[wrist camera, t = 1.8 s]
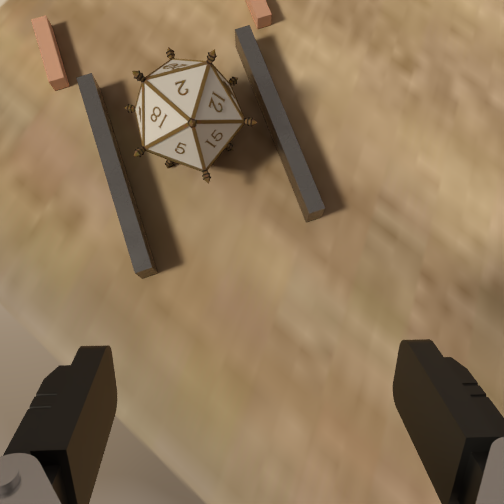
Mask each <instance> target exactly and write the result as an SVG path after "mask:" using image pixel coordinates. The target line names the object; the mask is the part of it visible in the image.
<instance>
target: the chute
mask: <svg viewBox="0 0 504 504" xmlns="http://www.w3.org/2000/svg"><path fill="white" fill-rule="evenodd" d="M235 41H236V49H237V51H238V54H239V56H240V58H241V61H242V63H243V66H244V68H245V71H246V73H247V76H248V78H249V81H250V83H251V86H252V88H253V91H254V93H255V96H256V98H257V101H258V103H259V106H260V108H261V111H262V113H263V116H264V118H265V121H266V123H267V126H268V128H269V131H270V133H271V136H272V138H273V141H274V143H275V146H276V148H277V151H278V153H279V156H280V158H281V161H282V163H283V166H284V168H285V171H286V173H287V176H288V178H289V181H290V183H291V186H292V188H293V191H294V193H295V196H296V198H297V201H298V203H299V206H300V208H301V211H302V213H303V216H304V218H305V221H306V222H308V221H311V220H314V219H317V218H320V217H321V216H322V214H323V212H324V210H325V206H324V204H323V202H322V199H321V197H320V194H319V192H318V190H317V187H316V185H315V182H314V180H313V177H312V175H311V173H310V170H309V168H308V165H307V163H306V161H305V158H304V156H303V153H302V151H301V148H300V146H299V144H298V141H297V139H296V136H295V134H294V132H293V129H292V127H291V124H290V122H289V120H288V117H287V115H286V112H285V110H284V107H283V105H282V103H281V100H280V98H279V95H278V93H277V91H276V88H275V86H274V83H273V81H272V78H271V76H270V74H269V71H268V69H267V66H266V64H265V62H264V59H263V57H262V54H261V52H260V49H259V47H258V45H257V42H256V40H255V37H254V35H253V33H252V30H251V28H250V25H248V26H245V27H242V28H238V29H235ZM77 82H78V85H79V88H80V92H81V95H82V98H83V102H84V105H85V108H86V112H87V115H88V118H89V122H90V125H91V128H92V132H93V135H94V138H95V142H96V145H97V148H98V151H99V155H100V158H101V161H102V165H103V168H104V171H105V175H106V178H107V181H108V185H109V188H110V191H111V195H112V198H113V201H114V205H115V208H116V211H117V215H118V218H119V221H120V225H121V228H122V231H123V235H124V238H125V241H126V245H127V248H128V251H129V255H130V258H131V261H132V265H133V268H134V271H135V274H137V275H138V276H139V277H140V278H145V277H148V276H151V275H154V274H157V273H158V272H157V269H156V266H155V263H154V259H153V256H152V253H151V250H150V247H149V243H148V240H147V237H146V234H145V231H144V227H143V224H142V221H141V218H140V215H139V211H138V208H137V205H136V202H135V199H134V195H133V192H132V189H131V186H130V182H129V179H128V176H127V173H126V170H125V166H124V163H123V160H122V157H121V154H120V150H119V147H118V144H117V141H116V138H115V134H114V131H113V128H112V125H111V122H110V118H109V115H108V112H107V109H106V106H105V102H104V99H103V96H102V93H101V90H100V87H99V85H98V84H97V82H96V80H95V78H94V76H93V74H92V73H90V74H87V75H84V76H80V77H77Z"/></svg>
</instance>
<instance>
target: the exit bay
mask: <svg viewBox="0 0 504 504" xmlns="http://www.w3.org/2000/svg"><path fill="white" fill-rule="evenodd" d="M246 3H247V5H248V8H249V10H250V12H251V15H252V17H253V19H254V22H255V24H256V27H257V29H259V28H262V27H266V26H269V25H271V17H272V14H271V12H270V9H269V7H268V5H267V2H266V0H246ZM31 21H32V25H33V28H34V32H35V35H36V39H37V42H38V46H39V49H40V53H41V56H42V60H43V63H44V67H45V71H46V74H47V78H48V81H49V83H50V84H51V86H52V87H53V89H54V90H55V91H56V90H59V89H62V88H66V87H69V82H68V79H67V75H66V72H65V69H64V65H63V62H62V58H61V55H60V52H59V48H58V45H57V42H56V38H55V35H54V31H53V28H52V25H51V24H50V22H49V20H48V19H47V17H46V16H42V17H39V18H35V19H32V20H31Z"/></svg>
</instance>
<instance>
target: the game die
mask: <svg viewBox="0 0 504 504" xmlns="http://www.w3.org/2000/svg"><path fill="white" fill-rule="evenodd" d="M166 54H167V55H168V56H167V57H168V58H169V59H170V60H169V61H168V62H166V63H165V64H163V65H162V66H160V67H159V68H158V69H156V70H155V71H153V72H152V73H150V74H149V75H148V76H146V77H144V76H143V73H140V71H132V72H133V75H134V78H135V79H137V80H138V81H141V82H142V83H141V87H140V91H139V94H138V98H137V102H136V105H135V107H134V106H133V105H129V104H128V105H127V106H126V107H125V109H126V110H127V111H128V113H129V112H131V113H132V112H134V111H135V114H136V119H137V123H138V128H139V133H140V138H141V143H142V147H141V148H138V149H137V150H136V149H135V153H134V157H138V156H139V157H141V155H143V154H144V152H145V151H147V152H150V153H152V154H155V155H157V156H160V157H163V158H165V159H168V160H167V161H166V163H165V165H166V166H167V168H169V167H172V164H173V162H176V163H179V164H182V165H185V166H188V167H190V168H193V169H196V170H199V171H202V172H203V175H202V177H203V178H204V179H203V180H205V181H206V182H207V183H208V184H209V181H210V178H211V177H210V174H209V173H208V169H209V168H210V166H211V165H212V164H213V163H214V161H215V160H216V159H217V158H218V156H219V155H220V154H221V153H222V151H223V150H224V149H225V148H226V149H228V151H230V150H233V145H231V143H230V141H231V140H232V139H233V138H234V136H235V135H236V134H237V133H238V131H239V130H240V129H241V128H242V126H243V125H244V124H247V125H248V126H249V125H251V126H253V125H254V124H256V123H257V122H256V121H255V120H254V119H253V118H247V119H245V118H244V115H243V113H242V111H241V108H240V106H239V103H238V101H237V99H236V96H235V94H234V92H233V89H232V87H231V86H232V85H235V84H237V79H238V78H236V77H232V78H230V80H229V82H228V81H227V80H226V79H225V77H224V76H223V75H222V74H221V73H220V72H219V71H218V70H217V69H216V67H215V66H214V65H213V64H212V62H213V61H214V60H215V58H216V57H217V56H216V54H215V49H214V50H213V51H211V52H208V56H207V61H198V60H185V59H175V58H174V56H175V54H174V51H173V50H171V49H170V48H169V47H168V50H167V52H166Z"/></svg>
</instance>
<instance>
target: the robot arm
mask: <svg viewBox="0 0 504 504" xmlns="http://www.w3.org/2000/svg"><path fill="white" fill-rule="evenodd" d="M393 397H394V402H395V405H396V408H397V410H398V412H399V414H400V416H401V418H402V421H403V423H404V425H405V427H406V429H407V431H408V433H409V435H410V438H411V440H412V442H413V444H414V446H415V448H416V450H417V452H418V454H419V457H420V459H421V461H422V463H423V465H424V467H425V469H426V471H427V474H428V476H429V478H430V480H431V482H432V484H433V486H434V488H435V491H436V493H437V495H438V497H439V499H440V501H441V503H442V504H504V418H503V416H502V415H501V414H500V412H499V411H498V410H497V408H496V407H495V406H494V404H493V403H492V402H491V400H490V399H489V397H486V393H485V392H484V391H483V389H482V388H481V387H480V386H478V383H477V381H476V380H475V379H474V377H473V376H472V375H471V373H470V372H469V371H468V369H467V368H465V367H464V366H462V365H461V364H460V363H458V362H457V361H456V360H454V359H453V358H451V357H443V355H442V354H441V353H440V351H439V350H438V348H437V347H436V345H435V344H434V343H433V341H431V340H430V339H427V340H402V341H401V343H400V346H399V352H398V358H397V363H396V369H395V375H394V381H393ZM116 407H117V387H116V380H115V372H114V365H113V358H112V351H111V348H110V346H81V347H80V348H79V349H78V351H77V353H76V356H75V358H74V360H73V362H72V364H71V365H67V366H59V367H57V368H56V369H55V370H54V371H53V372H52V373H50V374H49V375H48V376H47V377H46V378H45V379H44V380H43V382H42V384H41V386H40V388H39V390H38V392H37V394H36V397H34V399H33V401H32V403H31V405H30V409H28V410H27V412H26V414H25V416H24V418H23V419H22V421H21V423H20V425H19V427H18V429H17V431H16V433H15V434H14V436H13V438H12V440H11V442H10V444H9V446H8V448H7V449H6V451H5V453H4V455H3V456H1V457H0V504H89V502H90V498H91V495H92V492H93V488H94V485H95V481H96V478H97V474H98V471H99V468H100V464H101V461H102V457H103V454H104V451H105V447H106V444H107V441H108V437H109V434H110V430H111V427H112V424H113V420H114V417H115V413H116Z"/></svg>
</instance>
